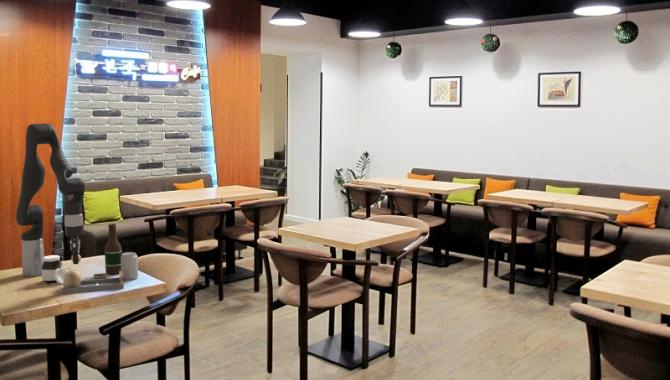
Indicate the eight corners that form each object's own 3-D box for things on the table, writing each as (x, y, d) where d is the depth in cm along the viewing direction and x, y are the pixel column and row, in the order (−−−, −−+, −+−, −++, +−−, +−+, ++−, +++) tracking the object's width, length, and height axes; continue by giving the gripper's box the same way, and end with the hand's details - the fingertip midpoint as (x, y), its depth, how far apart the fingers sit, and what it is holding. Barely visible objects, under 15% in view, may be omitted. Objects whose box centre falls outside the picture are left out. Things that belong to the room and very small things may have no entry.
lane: (62, 293, 268) (61, 288, 267) (64, 286, 278) (63, 282, 278) (119, 288, 275) (119, 283, 275) (119, 282, 286) (119, 277, 285)
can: (133, 280, 288) (132, 255, 286) (118, 280, 289) (117, 254, 288) (141, 276, 295) (140, 251, 294) (126, 275, 297) (125, 251, 295)
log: (63, 291, 269) (62, 275, 268) (65, 286, 277) (64, 270, 276) (81, 289, 271) (80, 274, 270) (82, 284, 279) (81, 269, 278)
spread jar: (48, 279, 291) (46, 254, 290) (73, 278, 292) (71, 254, 291) (38, 286, 279) (36, 260, 278) (64, 285, 280) (63, 260, 279)
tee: (93, 283, 283) (92, 277, 282) (93, 280, 288) (93, 274, 288) (107, 282, 285) (106, 276, 284) (107, 279, 290) (107, 273, 290)
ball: (81, 263, 272) (80, 254, 271) (71, 264, 271) (70, 255, 270) (81, 261, 276) (81, 252, 275) (71, 262, 274) (71, 253, 274)
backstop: (119, 288, 275) (119, 276, 275) (119, 282, 286) (119, 270, 285) (123, 288, 276) (123, 276, 275) (123, 281, 286) (122, 269, 285)
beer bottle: (126, 272, 302) (124, 223, 299) (112, 276, 296) (110, 226, 293) (115, 270, 307) (113, 222, 304) (102, 273, 300) (99, 224, 297)
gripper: (65, 222, 277) (68, 260, 279) (63, 227, 263) (65, 267, 265) (84, 221, 279) (86, 258, 281) (82, 226, 266) (84, 265, 268)
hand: (76, 262), depth 273 cm, fingers closed on ball, 4 cm apart
